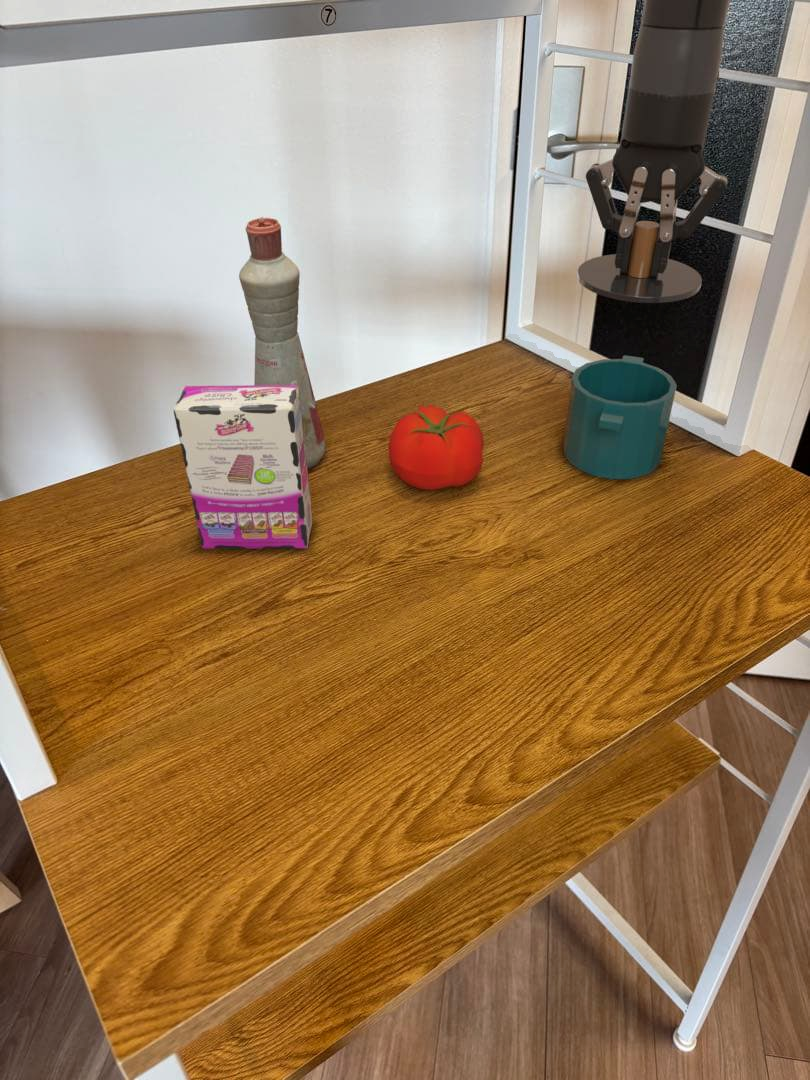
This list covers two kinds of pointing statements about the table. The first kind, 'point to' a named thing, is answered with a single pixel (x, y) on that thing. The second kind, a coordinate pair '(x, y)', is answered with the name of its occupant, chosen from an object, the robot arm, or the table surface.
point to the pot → (618, 417)
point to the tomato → (436, 448)
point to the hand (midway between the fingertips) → (639, 273)
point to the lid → (640, 273)
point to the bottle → (279, 325)
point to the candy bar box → (246, 465)
